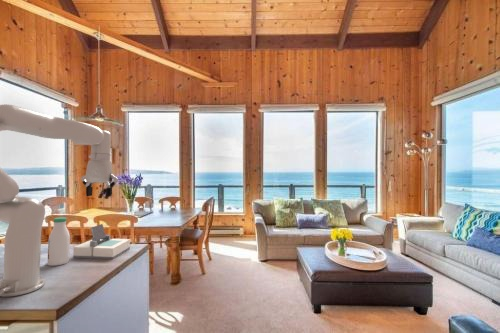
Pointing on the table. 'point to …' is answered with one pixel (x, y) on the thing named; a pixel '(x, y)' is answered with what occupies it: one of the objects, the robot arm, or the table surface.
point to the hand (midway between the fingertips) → (99, 196)
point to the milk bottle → (59, 243)
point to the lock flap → (98, 233)
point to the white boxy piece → (102, 248)
